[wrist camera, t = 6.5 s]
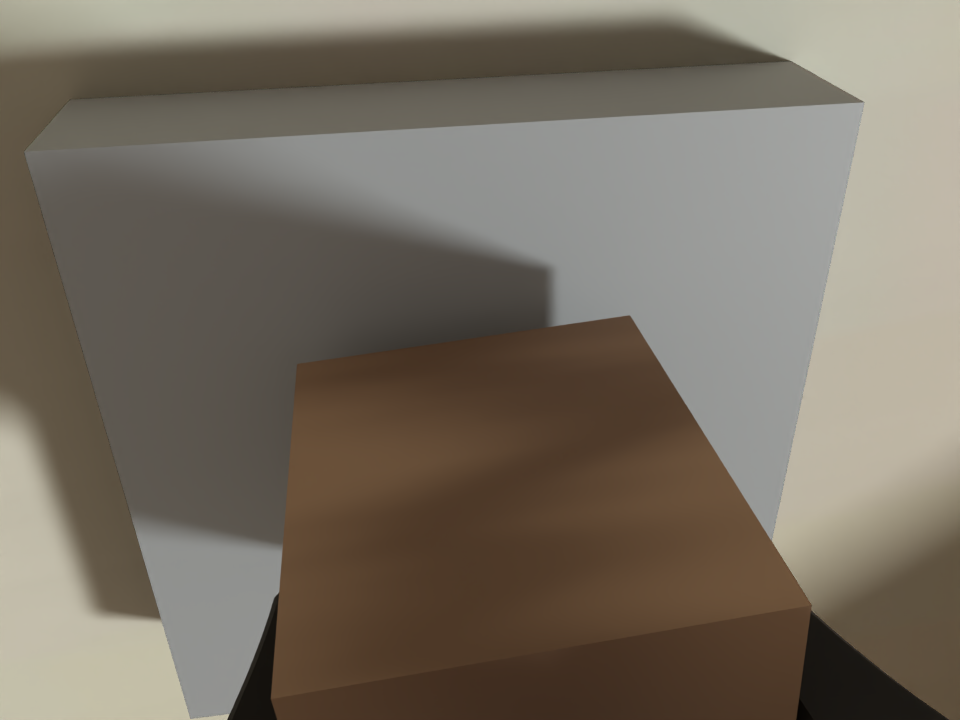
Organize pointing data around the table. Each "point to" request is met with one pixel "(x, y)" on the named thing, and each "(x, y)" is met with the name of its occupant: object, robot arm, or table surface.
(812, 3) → the table surface
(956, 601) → the table surface
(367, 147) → the slate block
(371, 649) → the walnut block
